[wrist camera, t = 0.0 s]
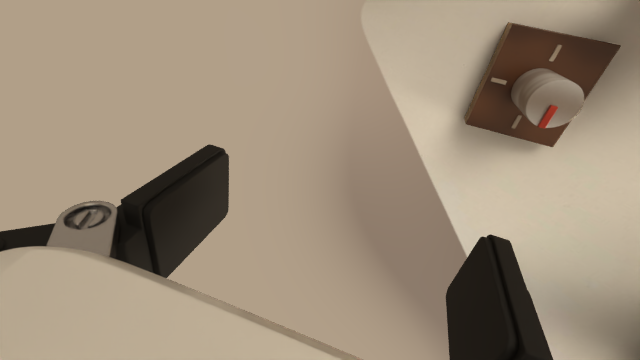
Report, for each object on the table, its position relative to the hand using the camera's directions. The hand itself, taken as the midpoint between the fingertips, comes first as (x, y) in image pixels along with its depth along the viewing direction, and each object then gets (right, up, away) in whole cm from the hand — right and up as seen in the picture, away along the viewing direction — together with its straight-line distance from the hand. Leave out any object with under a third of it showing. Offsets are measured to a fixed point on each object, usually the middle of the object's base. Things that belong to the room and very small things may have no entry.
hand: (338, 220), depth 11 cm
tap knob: (+20, +10, +18) cm, 29 cm away
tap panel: (+21, +11, +20) cm, 31 cm away
